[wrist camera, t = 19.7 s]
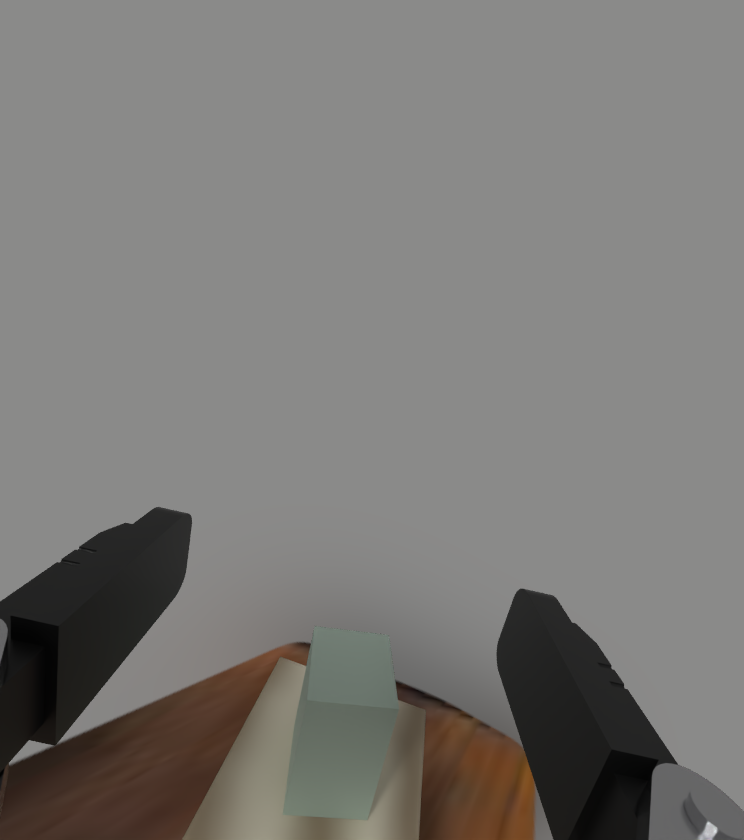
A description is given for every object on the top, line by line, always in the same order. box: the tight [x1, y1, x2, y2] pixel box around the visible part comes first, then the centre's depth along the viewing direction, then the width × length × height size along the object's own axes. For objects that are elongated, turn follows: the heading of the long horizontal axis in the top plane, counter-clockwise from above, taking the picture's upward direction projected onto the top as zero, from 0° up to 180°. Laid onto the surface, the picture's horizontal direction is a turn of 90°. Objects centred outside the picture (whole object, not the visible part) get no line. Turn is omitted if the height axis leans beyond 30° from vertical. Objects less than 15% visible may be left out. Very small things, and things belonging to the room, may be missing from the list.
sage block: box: [283, 626, 399, 820], centre depth 26 cm, size 6×6×10 cm
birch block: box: [182, 657, 426, 840], centre depth 28 cm, size 14×15×6 cm
